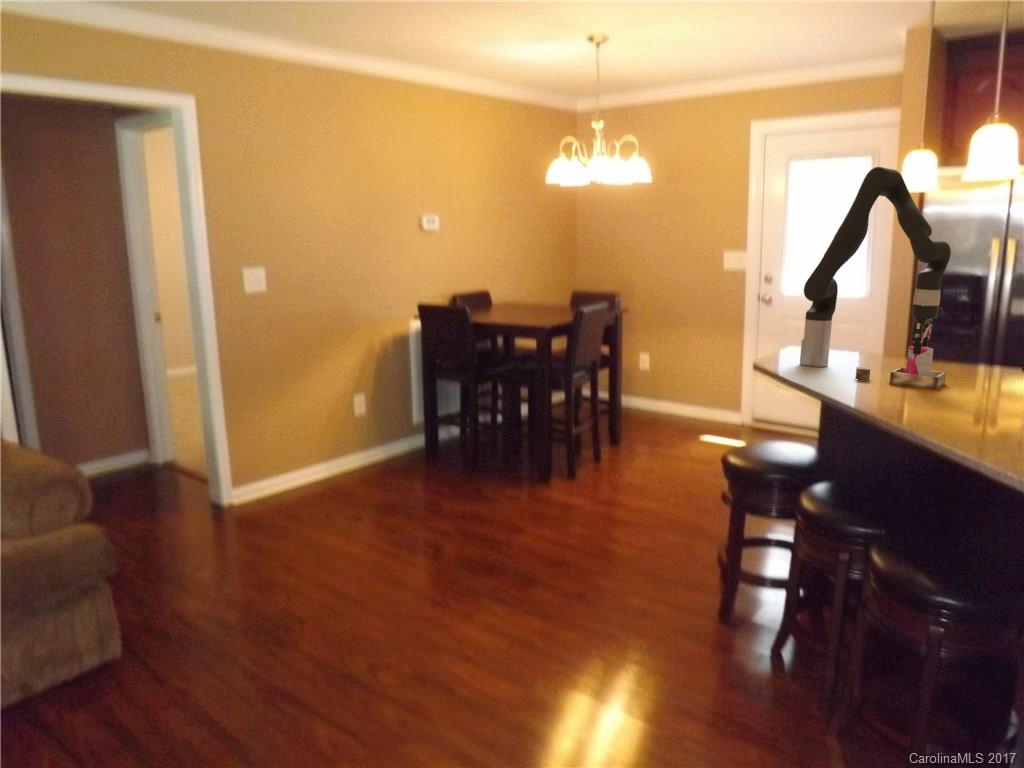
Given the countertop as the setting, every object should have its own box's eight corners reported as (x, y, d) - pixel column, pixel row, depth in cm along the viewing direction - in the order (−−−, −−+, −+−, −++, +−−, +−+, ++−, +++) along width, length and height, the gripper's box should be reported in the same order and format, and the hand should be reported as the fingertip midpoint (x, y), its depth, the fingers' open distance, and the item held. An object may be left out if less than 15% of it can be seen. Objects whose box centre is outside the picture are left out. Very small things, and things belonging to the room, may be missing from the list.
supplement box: (922, 379, 251) (926, 345, 249) (930, 383, 246) (934, 348, 243) (904, 379, 252) (908, 345, 250) (911, 383, 246) (915, 348, 244)
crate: (889, 383, 249) (890, 372, 248) (898, 378, 258) (899, 367, 257) (936, 389, 240) (938, 377, 239) (944, 384, 249) (946, 372, 248)
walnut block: (856, 380, 255) (857, 368, 254) (855, 378, 258) (856, 367, 258) (869, 381, 253) (870, 369, 253) (868, 379, 257) (869, 367, 256)
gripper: (918, 300, 251) (912, 348, 255) (907, 304, 240) (901, 353, 244) (944, 302, 246) (937, 351, 250) (934, 305, 236) (927, 356, 239)
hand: (919, 352), depth 247 cm, fingers open, 8 cm apart
